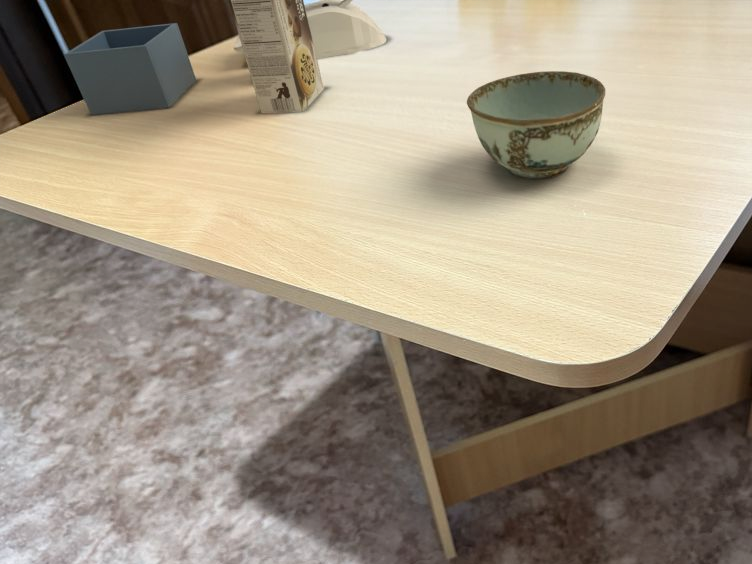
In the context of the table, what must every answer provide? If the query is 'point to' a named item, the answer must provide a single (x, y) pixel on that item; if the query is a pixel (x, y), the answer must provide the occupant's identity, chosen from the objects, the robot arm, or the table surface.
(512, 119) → the bowl
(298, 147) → the table surface
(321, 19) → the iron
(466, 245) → the table surface
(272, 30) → the cookie box
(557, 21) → the table surface
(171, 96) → the drawer
